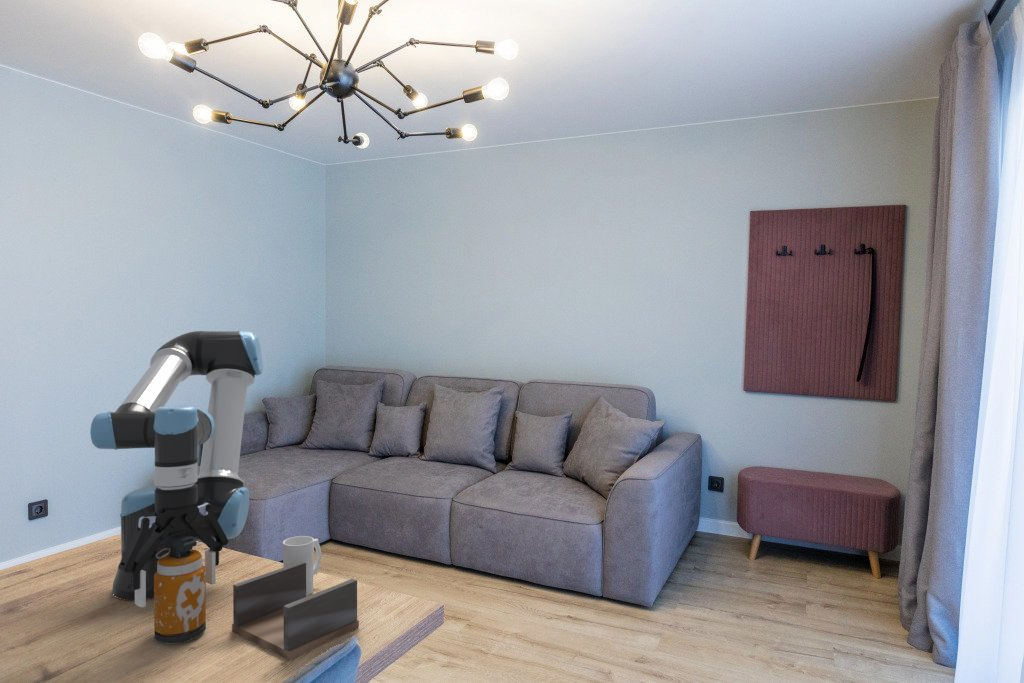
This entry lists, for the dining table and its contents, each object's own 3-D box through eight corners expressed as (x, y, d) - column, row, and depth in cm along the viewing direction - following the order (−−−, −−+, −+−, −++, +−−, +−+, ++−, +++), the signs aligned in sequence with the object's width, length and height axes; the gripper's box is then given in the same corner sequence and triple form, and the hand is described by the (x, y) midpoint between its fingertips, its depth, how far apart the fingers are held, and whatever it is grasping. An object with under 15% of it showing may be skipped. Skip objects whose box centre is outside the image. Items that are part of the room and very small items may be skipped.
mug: (297, 601, 143) (297, 547, 143) (276, 595, 146) (276, 542, 146) (331, 586, 152) (331, 535, 151) (310, 580, 155) (310, 530, 155)
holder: (232, 631, 129) (231, 584, 128) (300, 603, 142) (300, 560, 141) (290, 660, 118) (290, 608, 117) (358, 627, 131) (358, 580, 130)
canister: (171, 651, 121) (170, 544, 120) (139, 636, 127) (138, 534, 126) (215, 632, 128) (214, 532, 128) (183, 619, 134) (182, 523, 134)
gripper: (116, 501, 114) (116, 621, 115) (245, 476, 135) (246, 578, 135) (97, 495, 119) (98, 610, 119) (226, 472, 139) (226, 570, 139)
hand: (176, 593), depth 127 cm, fingers open, 13 cm apart
